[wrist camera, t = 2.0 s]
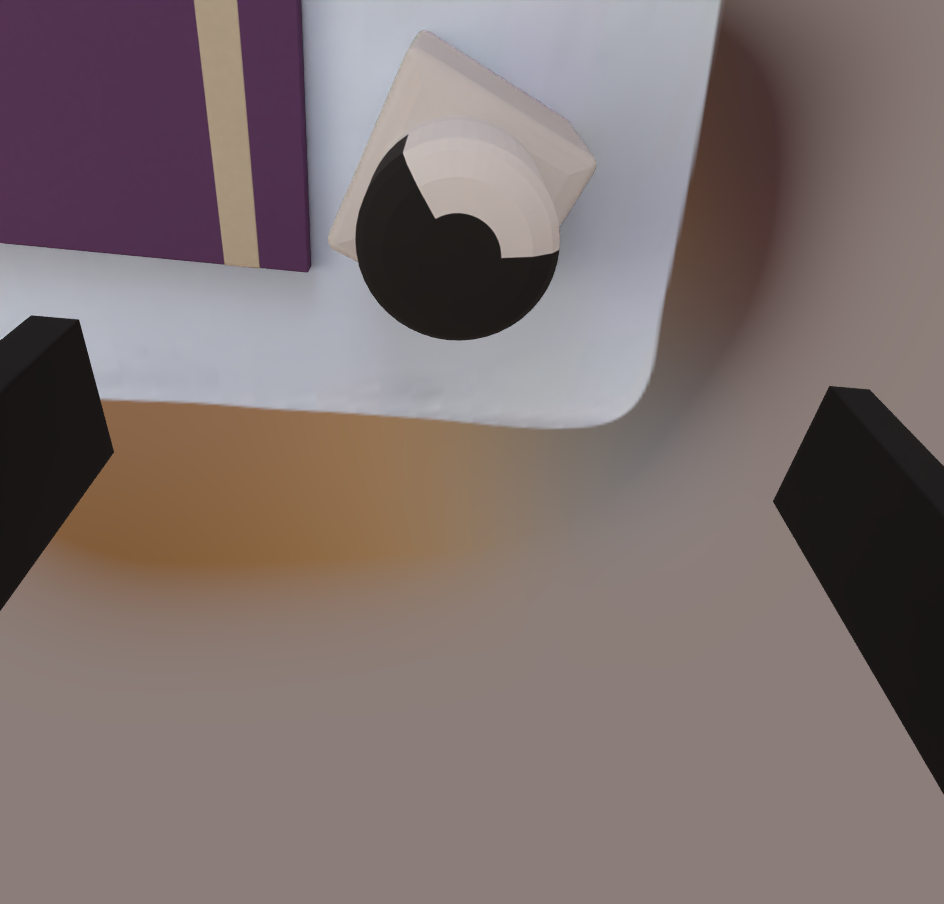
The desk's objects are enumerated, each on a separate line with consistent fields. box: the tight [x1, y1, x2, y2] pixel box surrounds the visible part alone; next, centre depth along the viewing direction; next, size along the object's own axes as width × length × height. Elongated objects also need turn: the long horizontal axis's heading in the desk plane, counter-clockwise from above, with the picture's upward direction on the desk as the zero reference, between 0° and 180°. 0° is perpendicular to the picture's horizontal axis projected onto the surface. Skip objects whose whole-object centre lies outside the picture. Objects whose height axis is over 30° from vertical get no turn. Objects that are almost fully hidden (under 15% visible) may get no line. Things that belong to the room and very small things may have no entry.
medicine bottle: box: [328, 30, 596, 341], centre depth 24 cm, size 7×7×12 cm
